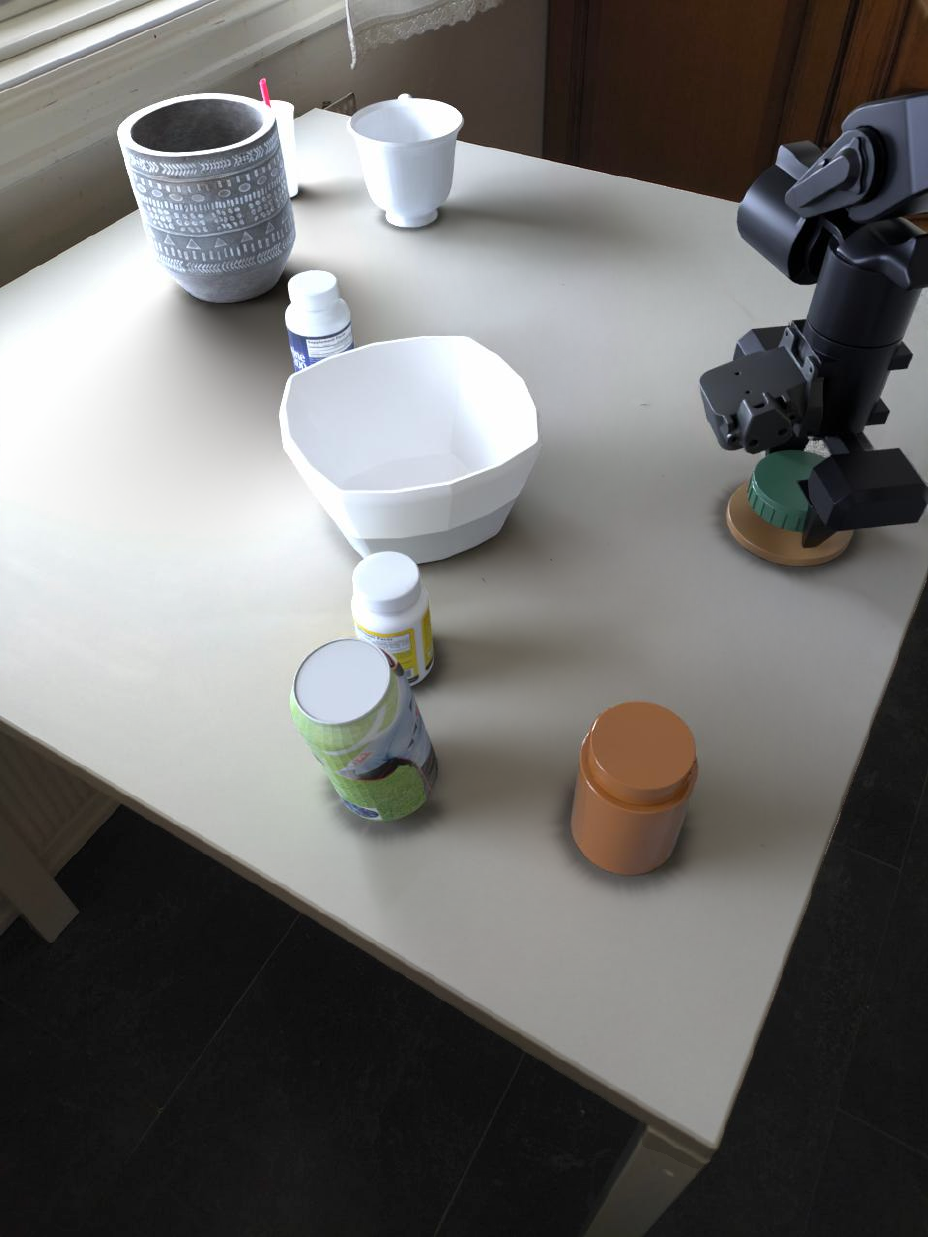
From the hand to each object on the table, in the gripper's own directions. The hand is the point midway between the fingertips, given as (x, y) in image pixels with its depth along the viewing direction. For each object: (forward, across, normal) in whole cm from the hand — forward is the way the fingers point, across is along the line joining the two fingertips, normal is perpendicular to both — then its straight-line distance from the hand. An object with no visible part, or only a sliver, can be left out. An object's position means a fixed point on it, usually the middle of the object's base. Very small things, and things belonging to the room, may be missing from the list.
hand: (790, 513), depth 66 cm
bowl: (+1, -6, -27) cm, 28 cm away
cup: (+1, -62, -37) cm, 73 cm away
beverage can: (+1, +18, -32) cm, 37 cm away
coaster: (+1, 0, 0) cm, 1 cm away
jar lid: (-3, 0, 0) cm, 3 cm away
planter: (+1, -44, -42) cm, 61 cm away
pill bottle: (+1, -23, -33) cm, 41 cm away
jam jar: (+1, +22, -18) cm, 29 cm away
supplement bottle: (+1, +9, -30) cm, 31 cm away
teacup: (+1, -55, -23) cm, 60 cm away
